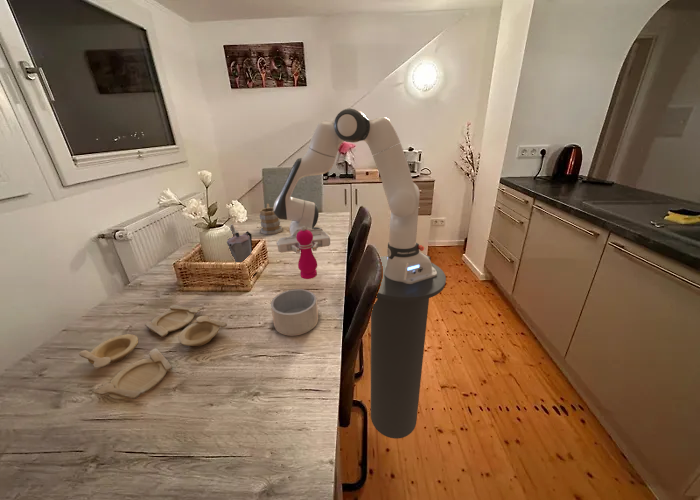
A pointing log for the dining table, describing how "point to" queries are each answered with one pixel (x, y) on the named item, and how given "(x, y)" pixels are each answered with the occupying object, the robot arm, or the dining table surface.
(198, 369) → the dining table surface
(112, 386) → the tableware set
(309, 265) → the pepper mill
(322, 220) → the dining table surface
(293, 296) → the round grey bowl
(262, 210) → the tankard
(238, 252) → the moka pot
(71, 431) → the dining table surface
